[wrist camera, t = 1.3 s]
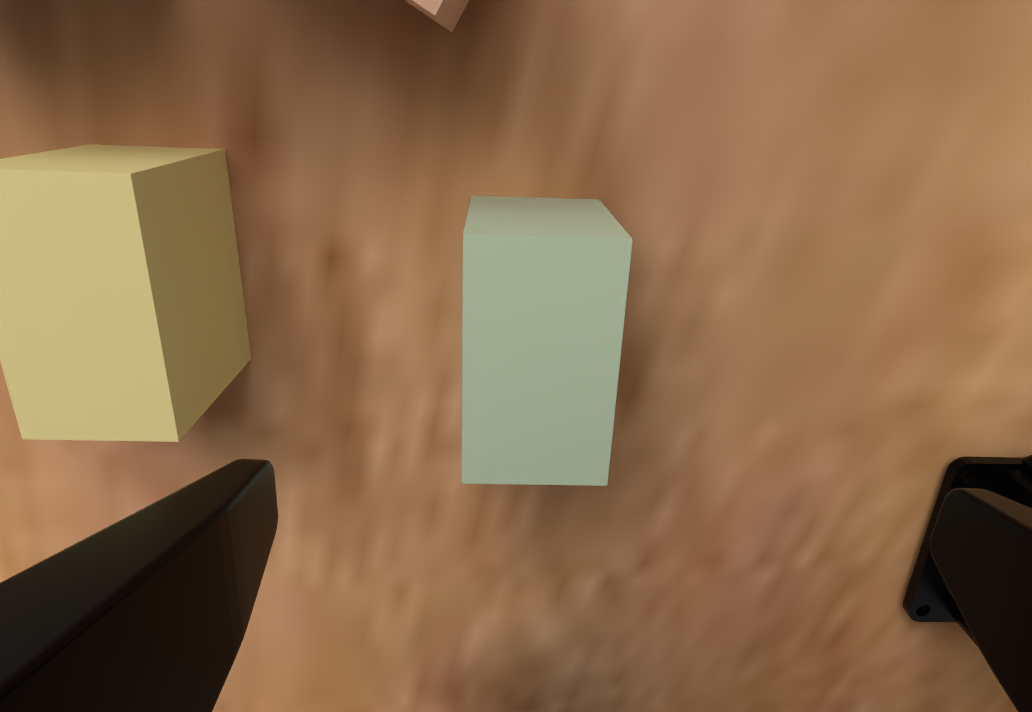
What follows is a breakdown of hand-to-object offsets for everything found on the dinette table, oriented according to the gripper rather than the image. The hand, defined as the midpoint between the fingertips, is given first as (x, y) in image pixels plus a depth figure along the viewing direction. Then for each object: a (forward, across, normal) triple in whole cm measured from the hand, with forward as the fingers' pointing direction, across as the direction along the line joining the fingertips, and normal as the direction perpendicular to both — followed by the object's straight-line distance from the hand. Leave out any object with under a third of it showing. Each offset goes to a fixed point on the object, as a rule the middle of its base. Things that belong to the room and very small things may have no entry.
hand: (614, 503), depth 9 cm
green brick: (+11, 0, +1) cm, 11 cm away
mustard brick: (+11, +11, 0) cm, 15 cm away
